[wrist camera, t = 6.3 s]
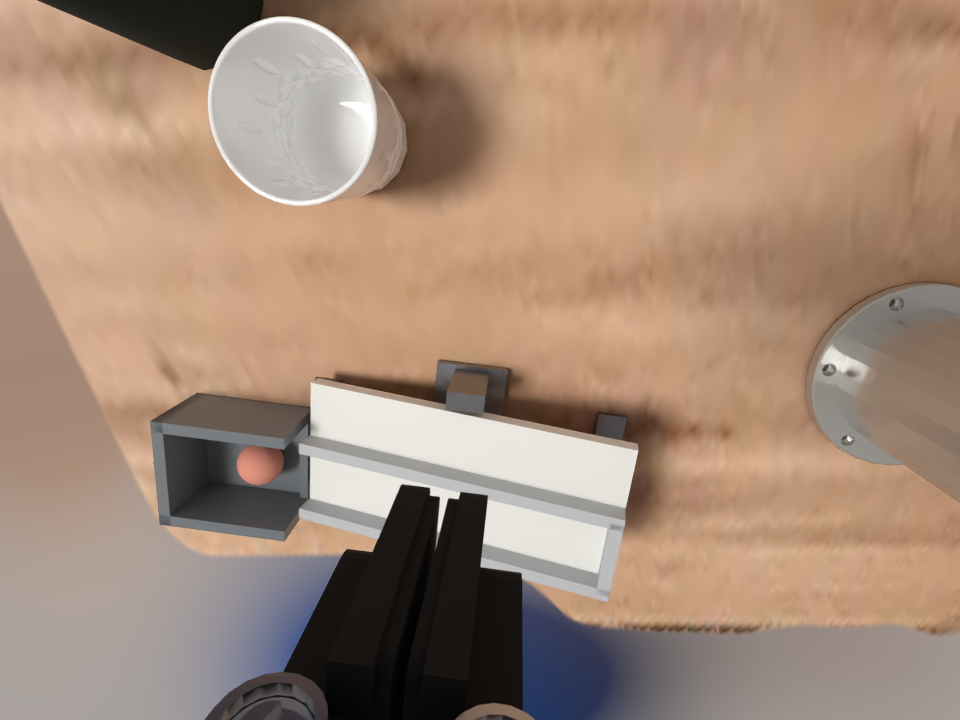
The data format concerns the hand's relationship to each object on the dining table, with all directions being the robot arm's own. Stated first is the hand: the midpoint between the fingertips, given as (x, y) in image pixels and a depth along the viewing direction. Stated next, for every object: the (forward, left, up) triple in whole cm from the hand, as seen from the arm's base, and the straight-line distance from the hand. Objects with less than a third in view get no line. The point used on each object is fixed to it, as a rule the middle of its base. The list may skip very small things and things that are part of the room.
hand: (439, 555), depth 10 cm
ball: (+16, +14, -25) cm, 32 cm away
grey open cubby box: (+17, +14, -27) cm, 35 cm away
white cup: (+10, -9, -27) cm, 30 cm away
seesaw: (+1, +12, -23) cm, 26 cm away
